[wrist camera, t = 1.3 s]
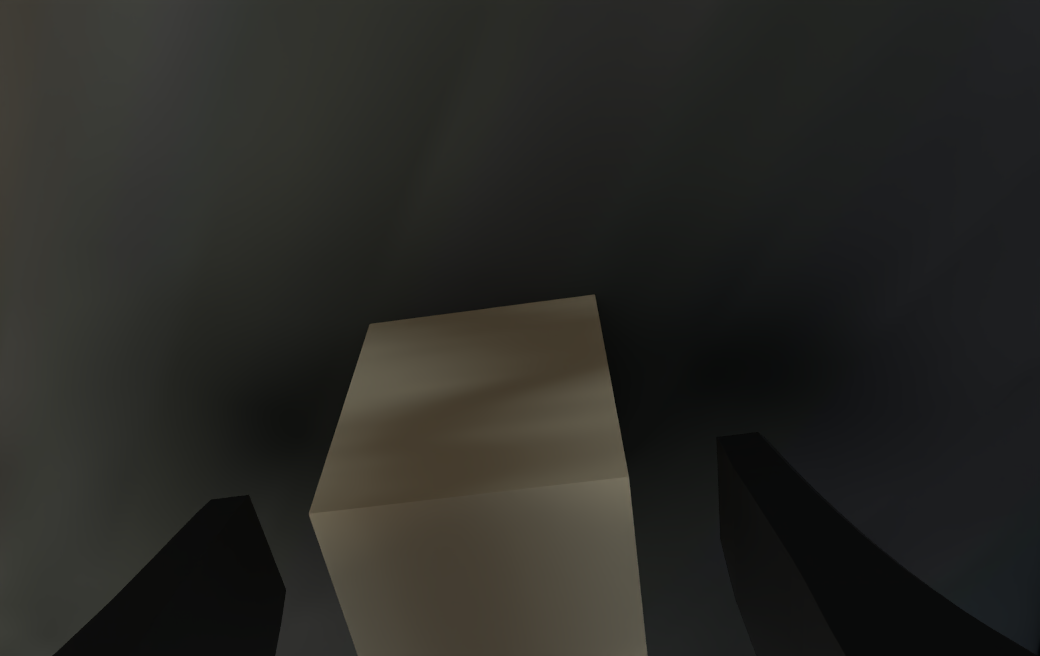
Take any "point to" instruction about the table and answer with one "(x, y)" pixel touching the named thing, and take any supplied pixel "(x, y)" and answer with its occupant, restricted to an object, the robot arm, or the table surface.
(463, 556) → the maple block
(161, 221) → the table surface
